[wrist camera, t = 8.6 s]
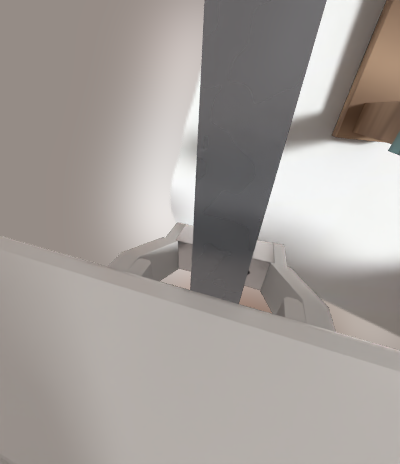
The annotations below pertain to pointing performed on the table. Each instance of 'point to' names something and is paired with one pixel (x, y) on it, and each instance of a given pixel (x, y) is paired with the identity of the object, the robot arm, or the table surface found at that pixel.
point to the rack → (376, 87)
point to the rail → (244, 128)
